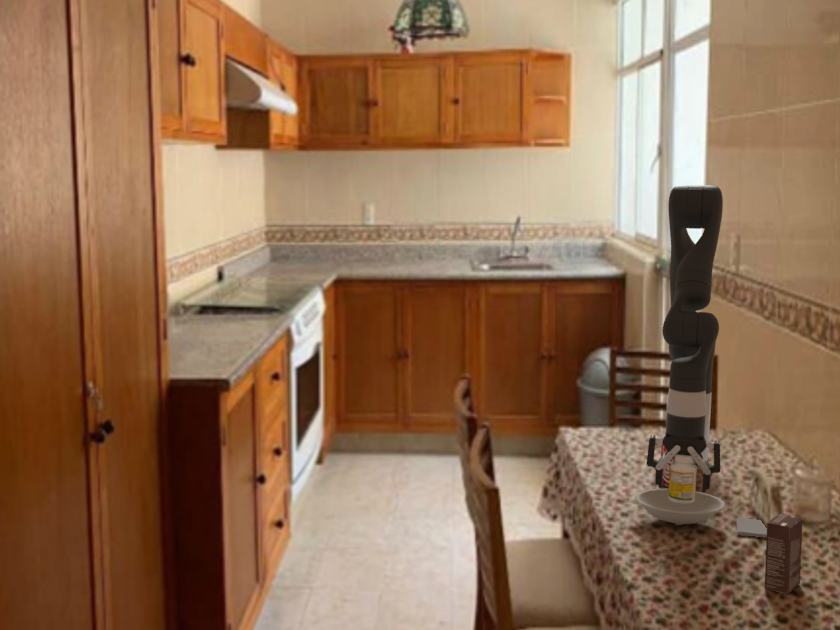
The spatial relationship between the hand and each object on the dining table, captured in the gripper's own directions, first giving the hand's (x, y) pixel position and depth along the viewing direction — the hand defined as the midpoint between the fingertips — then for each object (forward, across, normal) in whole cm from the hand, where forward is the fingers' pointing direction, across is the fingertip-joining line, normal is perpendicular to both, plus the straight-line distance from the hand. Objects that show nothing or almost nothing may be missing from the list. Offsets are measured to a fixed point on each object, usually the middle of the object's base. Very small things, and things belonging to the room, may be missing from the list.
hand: (681, 489), depth 200 cm
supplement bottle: (+2, 0, 0) cm, 2 cm away
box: (+7, -18, +26) cm, 33 cm away
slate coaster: (+7, -15, 0) cm, 17 cm away
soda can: (+7, +2, -24) cm, 25 cm away
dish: (+7, 0, +1) cm, 7 cm away
